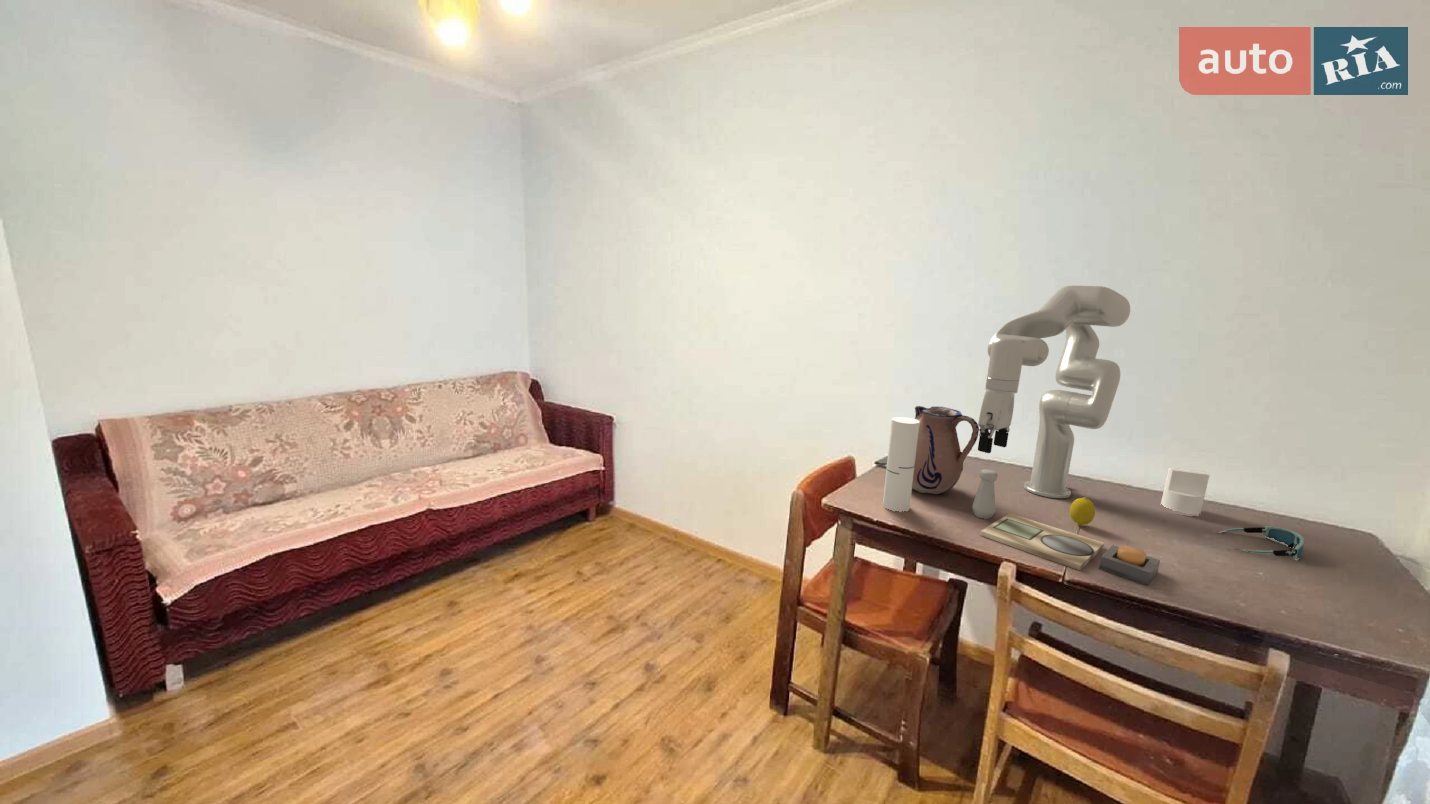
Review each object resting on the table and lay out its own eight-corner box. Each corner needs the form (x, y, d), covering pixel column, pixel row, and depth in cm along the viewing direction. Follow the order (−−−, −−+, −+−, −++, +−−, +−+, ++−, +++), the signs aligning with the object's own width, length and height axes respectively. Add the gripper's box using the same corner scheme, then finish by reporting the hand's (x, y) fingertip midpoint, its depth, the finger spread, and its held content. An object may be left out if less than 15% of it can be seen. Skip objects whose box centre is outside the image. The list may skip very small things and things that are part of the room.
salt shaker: (993, 513, 155) (1000, 468, 152) (995, 521, 149) (1003, 475, 147) (970, 510, 157) (976, 465, 154) (972, 518, 151) (978, 472, 149)
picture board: (1009, 517, 153) (1010, 512, 152) (1103, 547, 137) (1104, 542, 136) (980, 535, 141) (980, 530, 141) (1079, 570, 125) (1080, 565, 125)
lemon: (1090, 523, 150) (1095, 495, 149) (1093, 531, 145) (1099, 502, 144) (1066, 519, 153) (1071, 491, 151) (1068, 527, 148) (1074, 498, 146)
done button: (1119, 553, 129) (1121, 543, 128) (1146, 562, 125) (1148, 552, 125) (1113, 560, 125) (1115, 550, 125) (1140, 569, 122) (1143, 558, 121)
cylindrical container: (910, 513, 153) (921, 424, 148) (883, 510, 154) (893, 422, 149) (907, 503, 160) (917, 418, 154) (881, 500, 161) (890, 416, 156)
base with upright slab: (1166, 513, 160) (1175, 473, 157) (1155, 502, 168) (1164, 464, 166) (1205, 519, 157) (1215, 478, 154) (1192, 507, 165) (1202, 468, 162)
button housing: (1110, 556, 132) (1112, 545, 131) (1157, 572, 125) (1160, 560, 125) (1098, 568, 126) (1101, 556, 125) (1147, 585, 120) (1150, 572, 119)
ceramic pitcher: (907, 475, 184) (915, 400, 178) (976, 491, 172) (988, 411, 166) (889, 490, 170) (897, 409, 164) (963, 508, 158) (975, 422, 152)
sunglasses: (1317, 566, 132) (1319, 546, 131) (1236, 561, 137) (1238, 542, 136) (1282, 541, 145) (1283, 522, 144) (1210, 537, 150) (1211, 519, 149)
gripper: (1000, 380, 154) (991, 440, 157) (972, 385, 142) (963, 450, 146) (1030, 385, 148) (1019, 447, 152) (1003, 390, 137) (992, 458, 140)
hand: (992, 448), depth 149 cm, fingers open, 9 cm apart
